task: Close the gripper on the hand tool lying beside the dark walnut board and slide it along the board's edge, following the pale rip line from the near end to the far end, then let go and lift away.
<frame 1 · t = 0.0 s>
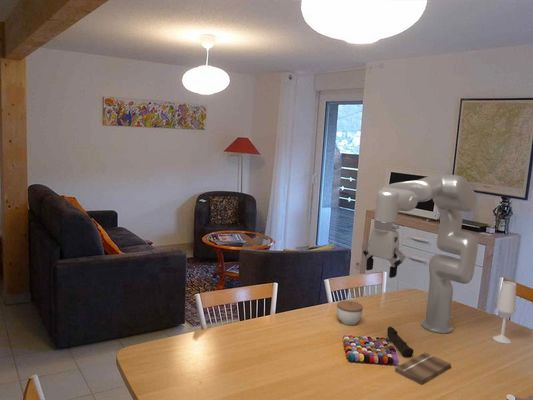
hand: (380, 273, 160), 31 cm above the table, tool pointing down, fingers open, 9 cm apart
hand tool: (395, 346, 174), on the table
board: (423, 369, 157), on the table
champagne flute: (501, 340, 185), on the table
lidded jar: (348, 322, 194), on the table
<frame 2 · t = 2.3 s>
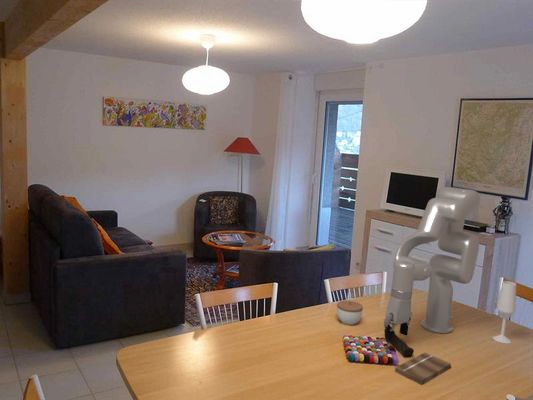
hand: (396, 337, 173), 4 cm above the table, tool pointing down, fingers open, 9 cm apart
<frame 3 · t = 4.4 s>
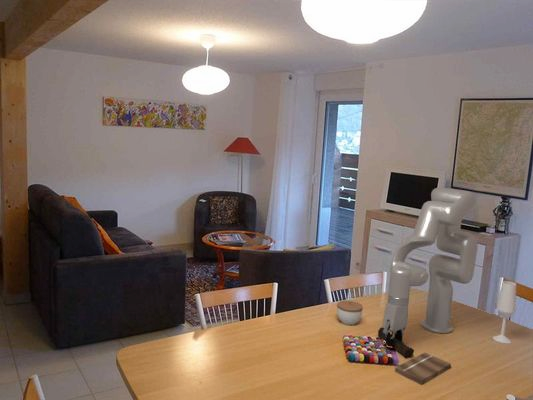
hand: (393, 345, 173), 1 cm above the table, tool pointing down, fingers open, 4 cm apart
hand tool: (391, 347, 173), on the table, touching gripper
everything else where it was.
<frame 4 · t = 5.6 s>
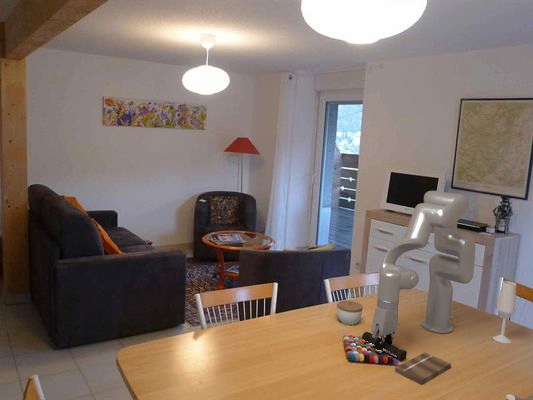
hand: (383, 350, 169), 1 cm above the table, tool pointing down, fingers open, 4 cm apart
hand tool: (381, 351, 169), on the table, touching gripper
everything else where it was.
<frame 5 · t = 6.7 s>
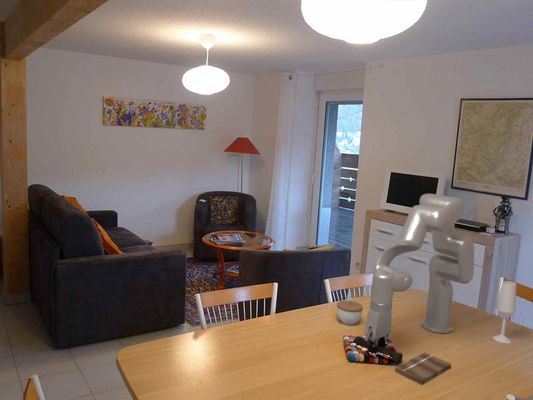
hand: (376, 353, 166), 1 cm above the table, tool pointing down, fingers open, 4 cm apart
hand tool: (375, 356, 166), on the table
everything else where it was.
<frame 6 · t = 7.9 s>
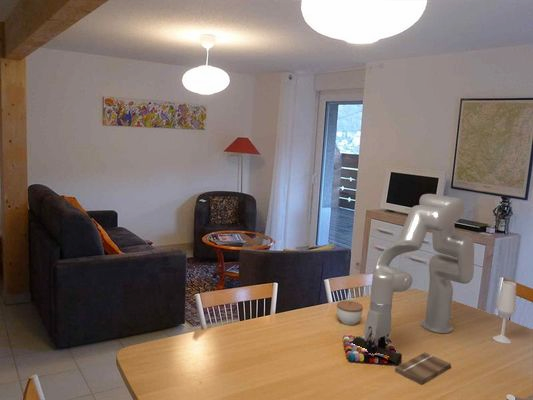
hand: (376, 353, 166), 1 cm above the table, tool pointing down, fingers open, 5 cm apart
nothing on the table moved.
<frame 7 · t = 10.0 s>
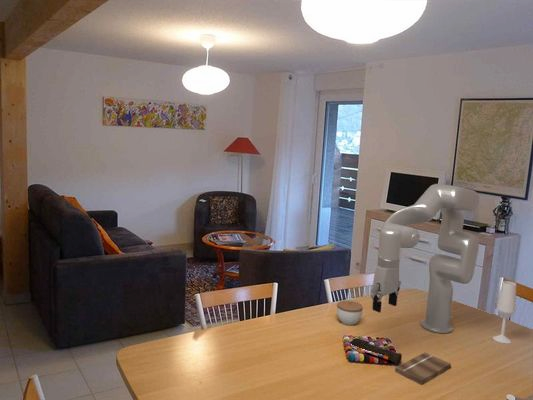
hand: (384, 307, 165), 17 cm above the table, tool pointing down, fingers open, 9 cm apart
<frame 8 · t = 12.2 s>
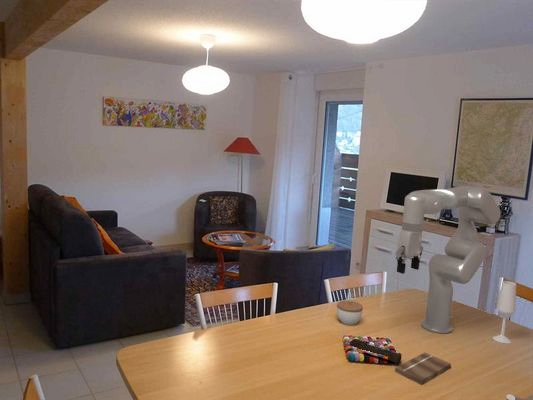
hand: (407, 270, 176), 28 cm above the table, tool pointing down, fingers open, 9 cm apart
at the end: hand tool inside the target area (1.8 cm from its centre), on the table; hand tool moved 14.8 cm from its start; the gripper is holding nothing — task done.
